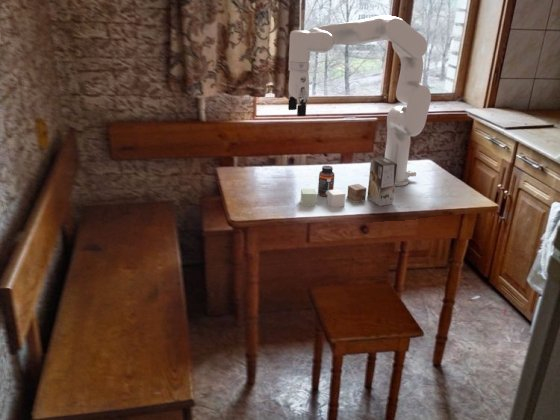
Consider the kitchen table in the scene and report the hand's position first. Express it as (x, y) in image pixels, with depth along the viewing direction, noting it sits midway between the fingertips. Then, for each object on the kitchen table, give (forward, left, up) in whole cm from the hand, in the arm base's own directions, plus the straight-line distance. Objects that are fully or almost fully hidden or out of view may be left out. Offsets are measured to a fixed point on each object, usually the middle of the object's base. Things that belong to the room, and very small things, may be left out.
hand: (296, 112), depth 207 cm
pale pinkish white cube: (-11, +17, -31) cm, 37 cm away
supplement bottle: (-11, +7, -31) cm, 34 cm away
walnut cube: (-21, +14, -31) cm, 40 cm away
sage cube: (-1, +14, -31) cm, 34 cm away
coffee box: (-29, +18, -32) cm, 46 cm away
